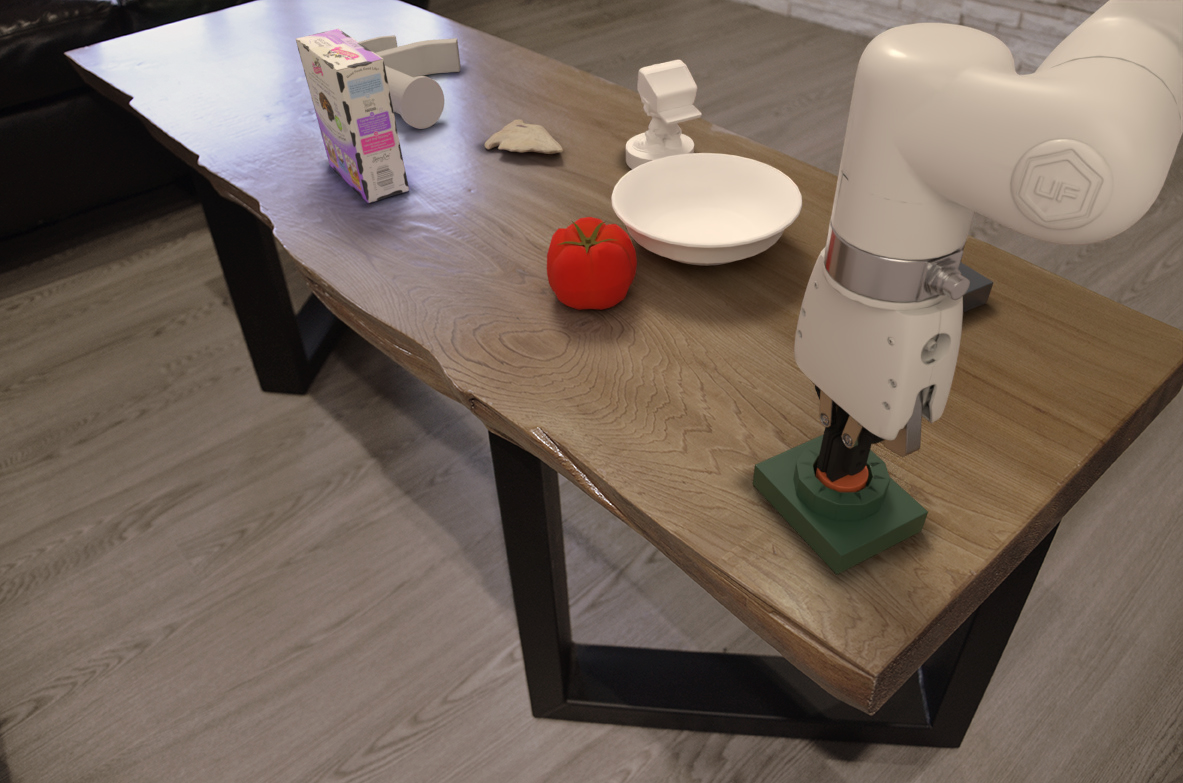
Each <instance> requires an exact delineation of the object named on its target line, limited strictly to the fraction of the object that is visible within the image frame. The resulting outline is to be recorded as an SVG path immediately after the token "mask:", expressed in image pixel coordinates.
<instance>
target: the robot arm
mask: <svg viewBox="0 0 1183 783" xmlns="http://www.w3.org/2000/svg"><path fill="white" fill-rule="evenodd" d="M1182 136H1183V0H1108V1H1106V2H1105V3H1104V4H1103V5H1101V7H1099V8H1098V9H1097V10H1096V11H1095V12H1093V13H1092V14H1091V15H1090V16H1089V17H1087V18H1086V19H1085V20H1084V21H1083V22H1082V23H1081V24H1080V25H1078V26H1077V27H1076V28H1075V29H1074V30H1072V32H1070V34H1068V35H1067V36H1066V37H1065V38H1064V39H1063V40H1061V42H1059V44H1058V45H1056V47H1055V48H1054V49H1053V50H1052V51H1051V52H1050V53H1049V54H1048V56H1047V57H1046V58H1045V59H1043V61H1042V63H1041V64H1040V65H1039V66H1038V67H1037V69H1036V70H1035V71H1034V72H1033V73H1028V74H1019V73H1017V71H1016V64H1015V59H1014V56H1013V53H1012V51H1011V50H1010V48H1009V47H1008V46H1007V45H1006V44H1005V43H1004V42H1003V41H1002V40H1001V39H999V38H998V37H996V36H995V35H992V34H990V33H988V32H986V31H983V30H980V29H978V28H975V27H970V26H966V25H961V24H955V23H946V22H916V23H908V24H902V25H898V26H894V27H892V28H889V29H887V30H885V31H883V32H881V33H879V34H878V35H876V36H875V37H873V39H871V41H870V42H869V43H867V45H866V46H865V48H864V50H863V52H862V54H861V55H860V58H859V61H858V64H857V69H856V73H855V78H854V84H853V89H852V93H851V101H850V106H849V111H848V118H847V124H846V129H845V134H844V140H843V144H842V152H841V157H840V163H839V168H838V169H839V170H838V175H837V182H836V187H835V193H834V198H833V204H832V210H831V215H830V220H829V225H828V231H827V237H826V242H825V246H824V247H823V248H822V250H821V251H820V253H819V255H818V257H817V258H816V261H815V263H814V266H813V269H812V272H811V274H810V276H809V279H808V282H807V285H806V289H805V292H804V295H803V299H802V303H801V305H800V311H799V315H798V319H797V324H796V329H795V336H794V347H793V348H794V349H793V352H794V353H793V356H794V357H793V358H794V362H795V364H796V366H797V367H798V368H799V370H800V371H801V373H803V374H804V375H805V377H806V378H808V380H809V381H810V382H811V383H812V385H814V389H815V390H814V391H815V392H816V393H815V394H816V395H817V397H818V400H819V410H818V419H819V421H820V424H821V425H822V426H823V427H824V429H823V430H824V431H823V434H822V435H823V439H822V444H821V449H820V454H819V458H818V463H817V468H818V469H819V470H820V471H821V472H825V473H826V474H827V478H828V479H829V480H830V481H831V482H834V481H836V480H838V479H840V478H843V477H845V476H847V475H850V476H853V475H855V474H857V473H859V472H861V471H862V470H863V469H864V468H865V466H866V464H867V460H868V456H869V452H870V450H872V449H871V448H872V445H875V444H879V443H880V444H882V445H883V447H884V448H885V449H887V450H889V451H891V452H892V453H894V454H896V455H897V456H899V457H901V458H905V457H907V456H909V455H912V454H913V453H916V452H917V451H919V450H920V449H921V442H922V422H923V418H924V419H925V420H926V421H927V422H928V423H930V424H933V423H935V422H936V421H938V420H940V418H941V417H942V416H943V415H944V414H943V413H944V412H945V409H946V405H947V402H948V399H949V396H950V392H951V389H952V384H953V380H954V376H955V372H956V368H957V363H958V358H959V357H958V356H959V351H960V347H961V346H960V345H961V338H962V330H963V316H964V313H963V295H964V294H965V293H966V292H967V290H968V288H969V286H970V281H969V280H968V279H967V278H965V277H964V276H962V275H961V272H960V271H959V270H958V269H959V265H960V262H962V259H963V255H964V250H965V246H966V243H967V239H968V236H969V232H970V229H971V225H972V223H973V219H974V217H975V213H977V214H978V215H980V216H983V217H985V218H987V219H989V220H991V221H992V222H995V223H997V224H999V225H1001V226H1002V227H1005V228H1008V229H1010V230H1012V231H1014V232H1016V233H1019V234H1021V235H1023V236H1026V237H1029V238H1032V239H1035V240H1038V241H1041V242H1046V243H1050V244H1055V245H1065V246H1066V245H1067V246H1081V245H1084V246H1085V245H1091V244H1097V243H1100V242H1103V241H1106V240H1109V239H1112V238H1114V237H1117V236H1118V235H1120V234H1122V233H1124V232H1125V231H1127V230H1128V229H1130V228H1131V227H1132V226H1134V225H1135V224H1136V223H1138V222H1139V221H1140V220H1141V219H1142V218H1143V217H1144V216H1145V215H1146V213H1148V212H1149V210H1150V209H1151V207H1152V206H1153V204H1154V203H1155V202H1156V200H1157V199H1158V197H1159V194H1160V193H1161V191H1162V189H1163V187H1164V185H1165V182H1166V179H1167V177H1168V174H1169V172H1170V169H1171V166H1172V164H1173V160H1174V158H1175V155H1176V153H1177V149H1178V146H1179V144H1180V142H1181V138H1182Z"/></svg>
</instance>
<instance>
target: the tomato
mask: <svg viewBox="0 0 1183 783" xmlns="http://www.w3.org/2000/svg"><path fill="white" fill-rule="evenodd" d="M606 222H607V220H606V221H603V220H602V219H601V218H597V217H594V216H586V217H580V218H578V219H577V220H575V221H573V220H571V224H570V225H568V226H567V227H566V228H562V227H561V228H558V229H557V230H556V231H554V233H553V234H552V236H551V240H550V242H549V246H548V250H547V253H546V275H547V280H548V285H549V286H550V288H551V290H552V292H554V294H555V297H556V298H557V300H558V301H559V302H560V303H561V304H563V305H565V306H567V307H569V308H572V309H575V310H579V311H580V310H600V311H602V310H607V309H609V308H613V307H615V306H616V305H617V304H619V303H621V302H622V301H623V300H625V298H626V296H627V295H628V294H627V293H628V291H629V288H630V287H631V285H632V284H633V281H634V279H635V277H636V275H637V266H638V258H637V253H636V248H635V246H634V244H633V241H632V239H631V238H630V237H631V236H630V234H629V233H627V232H626V231H625V230H624V228H622V227H621V226H619V225H618V224H617V223H609V224H607V223H606Z"/></svg>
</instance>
